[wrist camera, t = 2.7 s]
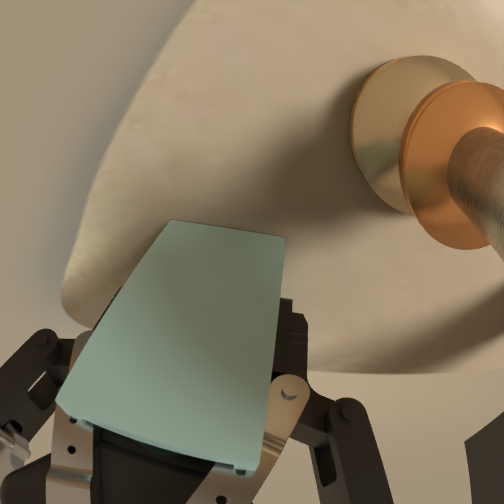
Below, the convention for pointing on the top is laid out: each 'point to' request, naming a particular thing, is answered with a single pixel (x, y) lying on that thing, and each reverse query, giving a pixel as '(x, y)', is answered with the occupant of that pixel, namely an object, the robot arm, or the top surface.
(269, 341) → the sleeve
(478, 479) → the ring
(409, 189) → the post
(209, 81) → the top surface
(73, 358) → the robot arm
